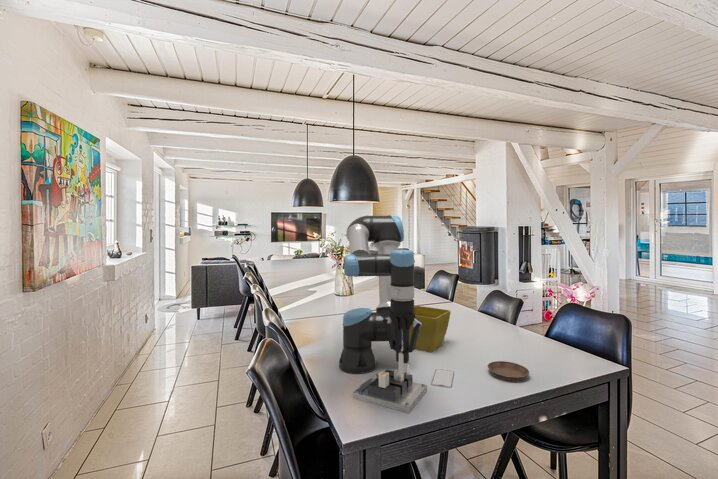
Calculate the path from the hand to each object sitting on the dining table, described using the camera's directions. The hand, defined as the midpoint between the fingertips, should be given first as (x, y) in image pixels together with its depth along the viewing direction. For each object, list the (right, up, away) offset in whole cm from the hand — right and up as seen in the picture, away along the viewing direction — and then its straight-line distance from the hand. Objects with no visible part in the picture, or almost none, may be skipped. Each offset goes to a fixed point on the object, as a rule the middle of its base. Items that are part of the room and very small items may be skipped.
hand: (402, 372), depth 114 cm
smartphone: (+18, -11, +22) cm, 30 cm away
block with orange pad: (-6, -6, +4) cm, 9 cm away
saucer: (+44, -10, +24) cm, 51 cm away
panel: (-3, -11, +9) cm, 14 cm away
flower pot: (+18, -9, +58) cm, 61 cm away
